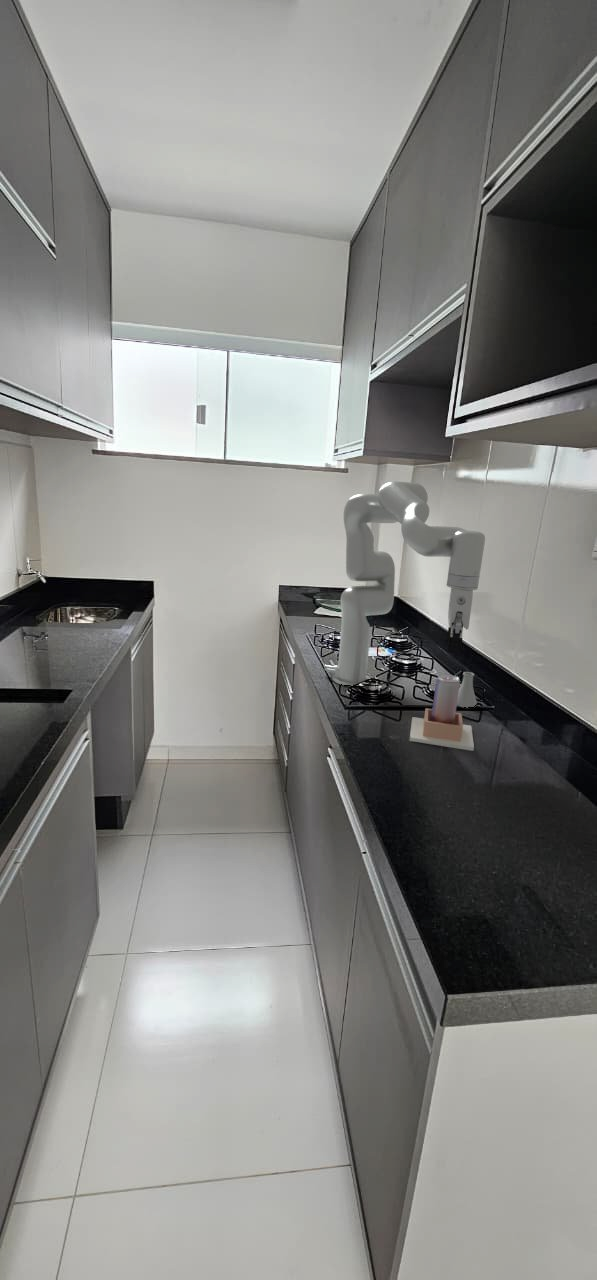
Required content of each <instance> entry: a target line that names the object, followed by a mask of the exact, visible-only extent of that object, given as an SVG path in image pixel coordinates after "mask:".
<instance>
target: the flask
mask: <svg viewBox="0 0 597 1280" xmlns="http://www.w3.org/2000/svg"><path fill="white" fill-rule="evenodd" d="M462 675H463V679H462V682H461V683H460V687H459V693H458V700H457V706H456V707H460V708H464V707H466V708H465V709H469V708H468V707H474V706H475V705H476V704H477V699H476V695H475V691H474V685H473V683H474V677H475V673H473V672H469V671H463V673H462ZM477 705H478V704H477ZM477 705H476V706H477ZM476 706H475V707H476ZM475 707H474V708H475Z"/></svg>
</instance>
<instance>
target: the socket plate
mask: <svg viewBox="0 0 597 1280" xmlns="http://www.w3.org/2000/svg"><path fill="white" fill-rule="evenodd" d="M424 710H425V711H424V717H423V718H422V717H415V716H412V718H411V725H410V735H409V742H414V743H421V744H428V745H435V746H441V747H447V748H452V749H453V748H454V749H459V750H466V751H474V750H475V744H474V737H473V729H472V725H471V724H470V725H468V724H463V714H462V713H461V712H456V713H455V719H454V725H452V724H445V723H439V722H432V721H431V715H432V708H427V707H426V708H425V709H424Z"/></svg>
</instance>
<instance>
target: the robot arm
mask: <svg viewBox="0 0 597 1280" xmlns="http://www.w3.org/2000/svg"><path fill="white" fill-rule="evenodd" d="M428 500H429V499H428V492H427V490H426V488H425V487H424V485H422V484H420V483H419V482H418V483H417V482H409V481H397V480H395V481H389V482H386V483H384V484H382V486H381V487H380V488H379V490H378V492H377V494H376V493H358V494H354V495H353V496H351V497H349V499H348V500H347V501H346V502H345V506H344V508H343V524H344V529H345V538H346V545H345V547H346V549H345V573H346V576H347V577H348V579H349V580H350V581H352V582H360V583H361V582H373V585H353V586H349V587H347V588H346V589H344V591H343V592H342V593H341V595H340V609H341V627H340V641H339V653H338V663H337V665H330V664H324V671H326V673H330V674H332V678H331V679H332V681H333V682H334V683H336V684H339V685H341V684H342V685H341V686H344V685H353V684H356V683H358V682H360V681H364V680H366V679H371V676H369V675H367V673H368V661H369V653H370V652H369V651H370V645H371V644H370V643H371V632H372V629H371V625H370V624H369V622H368V619H367V616H368V617H369V616H379V615H381V616H382V615H386V614H388V613H390V612H391V610H392V608H393V606H394V600H395V580H396V578H395V577H396V576H395V575H396V569H395V567H396V566H395V561H394V559H393V557H392V555H391V554H390V553H388V552H386V551H380V550H378V551H377V550H375V549H374V544H375V543H374V541H375V540H374V534H373V532H372V529H371V528H370V526H369V525H368V524H369V523H371V524H395V523H399V524H400V525H401V534H402V538H403V540H404V542H405V543H406V544H407V545H408V546H409V547H410V548H411V549H412V550H413V551H415V552H416V553H417V554H419V555H421V556H423V557H435V558H436V557H446V558H447V557H448V558H449V557H450V559H449V566H448V570H447V571H448V572H447V574H448V575H447V580H446V587H448V588H450V595H449V601H448V602H449V603H448V612H447V614H448V616H447V618H448V619H447V622H448V630H447V635H446V642H447V649H446V650H447V653H450V654H458V655H459V654H461V651H462V645H463V631H464V630H463V629H465V630H469V627H470V620H471V613H472V605H473V595H474V591H476V590H478V588H479V582H480V576H481V575H480V574H481V569H482V562H483V557H484V556H483V555H484V550H485V543H486V537H485V536H486V535H485V533H483V532H480V531H475V530H467V529H464V528H462V527H457V526H438V525H437V526H435V525H434V526H433V525H428V524H426V522H427V521H428V518H429V515H430V506H429V505H428Z"/></svg>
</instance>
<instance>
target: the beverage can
mask: <svg viewBox="0 0 597 1280" xmlns="http://www.w3.org/2000/svg"><path fill="white" fill-rule="evenodd" d="M460 682H461V681H460V678H459V677H458V676H456V675H451V674H439V675H437V679H436V681H435V687H434V694H433V695H434V696H433V701H432V702H433V703H432V708H431V709H432V715H431V721H432V722H439V723H445V724H452V725H454V719H455V713H457V712H456V711H457V707H458V706H457V700H458V693H459V688H460V686H461V683H460Z"/></svg>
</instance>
